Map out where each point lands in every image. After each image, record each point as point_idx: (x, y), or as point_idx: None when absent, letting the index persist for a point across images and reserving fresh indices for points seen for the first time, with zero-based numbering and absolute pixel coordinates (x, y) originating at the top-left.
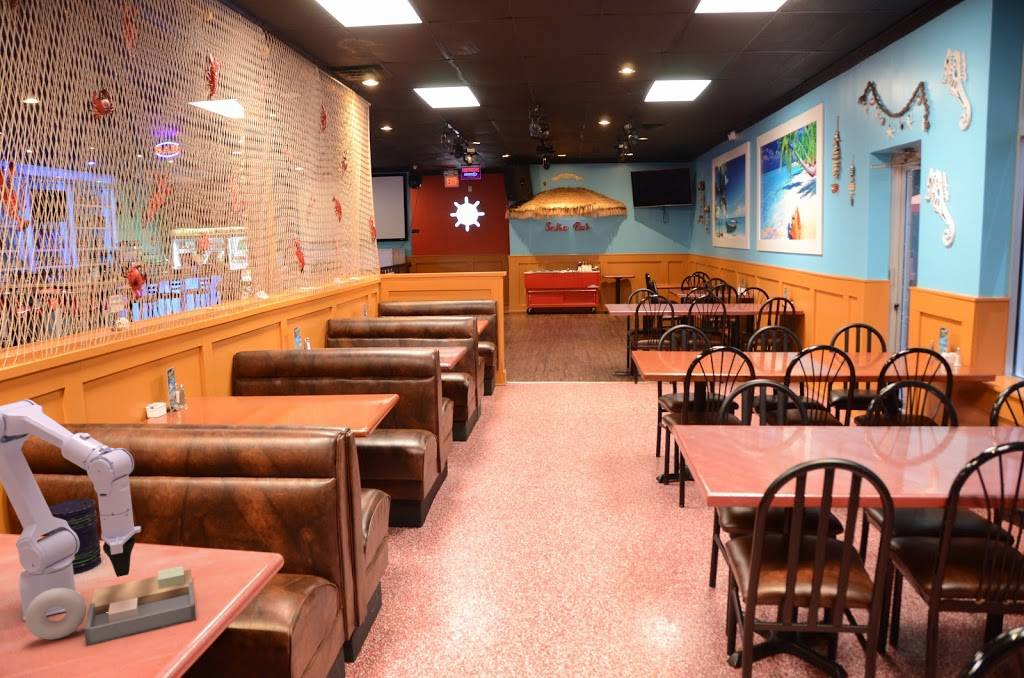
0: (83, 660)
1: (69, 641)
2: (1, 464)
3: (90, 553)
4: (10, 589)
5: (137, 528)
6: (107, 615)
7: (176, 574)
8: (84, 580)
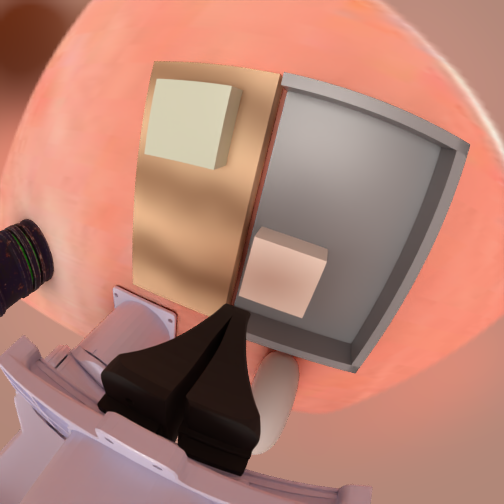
0: (403, 361)
1: None
2: None
3: (23, 248)
4: (73, 330)
5: (143, 461)
6: None
7: (210, 107)
8: (72, 260)
